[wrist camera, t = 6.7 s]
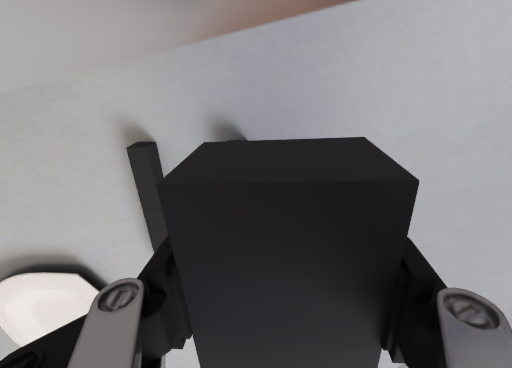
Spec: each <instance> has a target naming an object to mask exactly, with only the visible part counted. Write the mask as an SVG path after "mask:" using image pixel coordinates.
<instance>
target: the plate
mask: <svg viewBox="0 0 512 368" xmlns="http://www.w3.org/2000/svg"><path fill="white" fill-rule="evenodd" d="M99 292H100V291H99V290H98V289H97V288H96V287H95V286H93V285H92V284H91V283H90V282H88V281H87V280H86V279H85V278H83V277H82V276H81V275H80V274H78V273H63V272H30V273H24V274H18V275H15V276H12V277H10V278H7V279H5V280H3V281H1V282H0V326H1V327H2V328H3V330H4V331H5V332H6V333H7V334H8V335H9V336H10V337H11V338H12V340H13V341H15V342H16V343H17V344H18V345H19V346H21V347H23V346H25V345H27V344H29V343H31V342H33V341H34V340H36V339H38V338H40V337H42V336H44V335H46V334H48V333H50V332H52V331H54V330H56V329H58V328H60V327H62V326H64V325H66V324H68V323H70V322H72V321H73V320H75V319H77V318H79V317H81V316H83V315H85V314H87V313H88V312H89V309H90V306H91V304H92V302H93V300H94V298H95V296H96V295H97V294H98V293H99Z"/></svg>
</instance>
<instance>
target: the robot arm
mask: <svg viewBox="0 0 512 368" xmlns="http://www.w3.org/2000/svg"><path fill="white" fill-rule="evenodd" d="M191 336H192V330H191V326H190V322H189V318H188V314H187V309H186V305H185V301H184V297H183V293H182V289H181V285H180V281H179V276H178V272H177V268H176V264H175V260H174V256H173V252H172V247H171V243H170V239H169V235H168V236H167V237H166V238H165V239H164V241H163V242H162V243H161V245H160V246H159V248H158V249H157V250H156V252H155V253H154V255H153V256H152V258H151V259H150V260H149V262H148V263H147V265H146V266H145V267H144V269H143V270H142V272H141V273H140V274H139V276H138V277H137V278H125V279H121V280H118V281H115V282H113V283H111V284H109V285H108V286H106V287H105V288H103V289H102V290H101V291H100V292H99V293H98V294H97V295H96V296H95V298H94V300H93V302H92V304H91V306H90V309H89V312H88V313H87V314H85V315H83V316H81V317H79V318H77V319H75V320H73V321H72V322H70V323H68V324H66V325H64V326H62V327H60V328H58V329H56V330H54V331H52V332H50V333H48V334H46V335H44V336H42V337H40V338H38V339H36V340H34V341H33V342H31V343H29V344H27V345H25V346H23V347H21V348H19V349H17V350H16V351H14V352H12V353H11V354H9V355H8V356H6V357H5V358H4V359H2V360H1V361H0V368H165V357H166V356H165V354H166V353H168V352H169V351H171V349H183V347H184V344H185V341H186V339H190V338H191ZM381 347H382V348H383V350H388V352H389V354H390V357H391V360H392V362H393V363H405V364H406V366H407V367H408V368H512V329H511V327H510V325H509V322H508V320H507V319H506V317H505V315H504V314H503V312H502V311H501V310H500V309H499V308H498V307H497V306H496V305H494V304H493V303H491V302H490V301H489V300H487V299H486V298H484V297H482V296H480V295H478V294H476V293H474V292H471V291H468V290H465V289H459V288H447V286H446V285H445V284H444V283H443V281H442V280H441V279H440V277H439V276H438V275H437V273H436V272H435V271H434V269H433V268H432V267H431V266H430V264H429V263H428V262H427V260H426V259H425V258H424V256H423V255H422V254H421V252H420V251H419V250H418V249H417V247H416V246H415V245H414V243H413V242H412V241H411V240H410V239H409V238H408V237H407V239H406V243H405V248H404V252H403V257H402V261H401V266H400V270H398V271H397V276H396V280H395V285H394V289H393V294H392V298H391V303H390V307H389V312H388V316H387V321H386V325H385V330H384V334H383V339H382V343H381Z"/></svg>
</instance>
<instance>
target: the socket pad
mask: <svg viewBox="0 0 512 368" xmlns="http://www.w3.org/2000/svg"><path fill="white" fill-rule="evenodd" d="M242 141H247V140H242ZM227 142H230V141H227ZM126 149H127V153H128V157H129V160H130V164H131V168H132V172H133V175H134V179H135V183H136V186H137V190H138V194H139V198H140V201H141V205H142V209H143V213H144V217H145V220H146V224H147V228H148V232H149V235H150V239H151V243H152V247H153V250H154V253H155V252H156V250H157V249H158V248H159V246H160V245H161V243H162V242H163V241H164V239H165V238H166V237H167V236H168V231H167V227H166V223H165V218H164V214H163V210H162V206H161V202H160V198H159V194H158V189H157V183H159V182H160V181H161V180H162V179H163V178H164V177H163V173H162V168H161V163H160V159H159V154H158V150H157V145H156V142H139V143H135V144H133V145H131V146H129V147H127V148H126Z"/></svg>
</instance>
